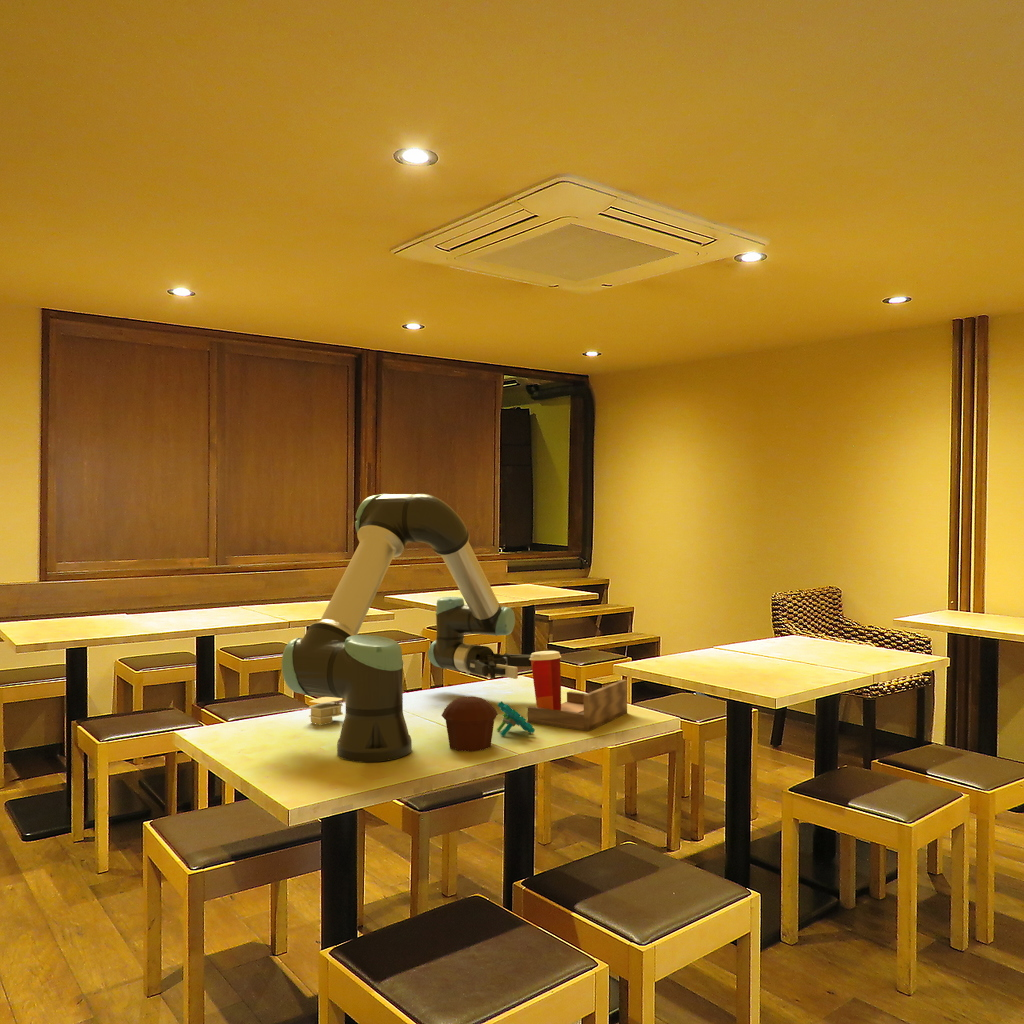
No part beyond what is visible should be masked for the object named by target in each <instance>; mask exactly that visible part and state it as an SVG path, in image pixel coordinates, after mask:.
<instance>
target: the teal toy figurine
mask: <svg viewBox="0 0 1024 1024" xmlns="http://www.w3.org/2000/svg"><path fill="white" fill-rule="evenodd" d="M497 706H498V708H499V709H500V710H501V712H502V713H503V714H502V719H501V720H502V723H500V725H499V726H498V727H497V729H496V731H498V732H500V731H501V730H502V729H503V727H504V729H503V730H502V731H501V732H500V733H499V735H501V736H502V737H505V736H506V734H507V733H509V731H510V729H511V728H512V727H515V726H518V727H519V726H520V728H521V729H522V731H523V730H524V731H525V732H528V733H529V734H534V733H535V731H536V729H535V728H533V725H532V723H529V722H528V721H527V719H526V717H524V716H522V715H521V713H519V711H517V710H516V709H514V708H511V706H510V705H509V704H507V703H504V702H503V701H500V702H498V703H497Z"/></svg>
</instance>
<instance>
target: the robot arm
mask: <svg viewBox="0 0 1024 1024" xmlns="http://www.w3.org/2000/svg"><path fill="white" fill-rule="evenodd" d="M355 519H356V521H354V526H355V531H356V533H357V534H356V535H357V536H356V537H357V540H358V542H359V543H358V546H357V547H356V549H355V551H354V553H353V556H352V557H351V558H350V559H351V560H350V561H349V563H348V565H347V567H346V569H345V571H344V573H343V575H342V577H341V579H340V581H339V582H338V584H337V586H336V588H335V590H334V593H333V595H332V597H331V599H330V601H329V602H328V604H327V606H326V609H325V610H324V612H323V614H322V616H321V619H320V620H319V621H316V622H312V623H311V624H310V625H309V626H308V628H307V630H306V631H305V634H304V636H303V637H296V638H294V639H291V640H290V641H288V643H287V644H286V645H285V647H284V650H283V652H282V656H281V657H282V658H281V670H282V671H281V672H282V673H281V674H282V677H283V681H284V683H285V684H286V686H287V687H288V688H289V689H290V690H291V691H292V692H294V693H296V694H303V695H306V696H310V697H312V696H314V697H315V696H317V697H336V698H342V699H344V700H345V716H344V719H343V723H342V727H341V730H340V733H339V734H340V735H339V738H338V740H337V744H336V750H337V751H336V752H337V753H336V754H337V756H338V757H339V758H341V759H343V760H346V761H349V762H350V761H351V762H358V763H359V762H362V763H373V762H375V763H378V762H386V761H391V760H396V759H400V758H402V757H406V756H407V755H409V754H411V752H412V751H413V750H412V749H413V748H412V747H413V745H412V743H413V742H412V738H411V735H410V734H409V731H408V729H409V728H408V726H407V723H406V719H405V715H404V704H403V703H404V702H403V700H404V697H403V693H404V692H403V691H404V689H403V685H404V684H403V682H404V679H403V677H404V675H403V673H404V671H403V670H404V669H403V667H404V660H403V651H402V650H403V649H402V647H401V645H400V644H399V642H397V640H395V639H393V638H390V637H387V636H380V635H374V634H371V635H367V634H359V631H360V629H361V627H362V625H363V623H364V620H365V618H366V616H367V614H368V613H369V609H370V608H371V606H372V603H373V602H374V600H375V597H376V594H377V592H379V591H378V590H379V588H380V587H381V584H382V582H383V580H384V578H385V576H386V573H387V571H388V569H389V567H390V565H391V562H392V561H393V559H394V558H398V557H400V556H401V555H402V554H403V552H404V550H405V548H406V546H407V544H409V543H413V544H414V543H415V544H416V543H417V544H418V543H424V544H426V545H428V546H430V547H431V549H432V551H433V552H434V553H435V554H437V555H438V556H441V558H442V560H443V562H444V564H445V566H446V568H447V569H448V571H449V573H450V575H451V577H452V578H453V579H452V580H453V581H454V582H455V584H456V586H457V588H458V590H459V591H460V593H461V595H462V597H459V596H444V597H440V598H438V599H437V601H436V610H435V612H436V613H435V617H436V619H435V623H436V637H435V638H436V639H435V640H433V642H432V643H430V645H429V649H427V656H428V657H427V658H428V660H429V662H430V664H432V665H433V666H434V667H437V668H441V669H443V670H451V671H458V672H462V673H463V672H465V675H470V674H474V675H478V676H484V677H487V676H489V678H490V679H496V676H498V677H502V678H503V677H504V678H509V679H515V680H517V679H519V671H518V670H519V669H518V668H519V667H532V665H531V660H529V659H530V658H531V654H513V653H507V652H506V653H503V654H501V653H495V652H494V651H493V650H492V648H490V647H489V646H486V645H479V644H475V643H474V644H473V643H465V642H464V641H465V634H471V635H485V636H487V635H488V636H495V637H497V636H508V635H510V634H512V632H513V631H514V628H515V625H516V617H515V612H514V610H513V608H511V607H509V606H508V607H506V606H504V605H503V606H501V604H500V603H499V601H498V599H497V596H496V595H495V592H494V591H493V589H492V586H491V584H490V582H489V580H488V579H487V576H486V574H485V572H484V570H483V568H482V566H481V564H480V562H479V560H478V558H477V556H476V554H475V552H474V550H473V548H472V545H471V544H470V542H469V540H470V532H469V530H468V528H467V526H466V524H465V522H464V521H463V519H462V518H461V516H460V515H459V514H458V513H457V512H456V511H455V510H454V509H453V508H452V507H451V506H450V505H449V504H447V503H446V502H445V501H443V500H442V499H440V498H438V497H436V496H434V495H432V494H428V493H416V494H415V493H411V494H410V493H397V494H396V493H393V494H392V493H391V494H390V493H381V494H375V495H371V496H367V497H366V498H365V499H364V500H363V501H362V502H361V503H360V505H359V506H358V508H357V511H356V513H355Z"/></svg>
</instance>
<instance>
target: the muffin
mask: <svg viewBox="0 0 1024 1024" xmlns="http://www.w3.org/2000/svg"><path fill="white" fill-rule="evenodd" d="M498 714H499V713H498V712H497V711H496V707H494V705H492V703H490V702H489V701H487V700H486V699H485V698H482V697H478V696H472V695H471V696H462V697H458V698H456V699H455V700H453V701H451V702H449V704H448V705H446V707H444V710H443V712H442V713H441V717H442V718H443V719H444V720H445V725H446V731H447V738H448V743H449V744H448V745H449V749H452V750H455V751H458V752H468V753H470V752H471V753H472V752H478V751H485V750H487V749H489V748H491V747H492V741H493V740H492V739H493V734H494V733H493V732H494V726H495V725H494V723H495V720H496V718H497V716H498Z"/></svg>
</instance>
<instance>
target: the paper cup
mask: <svg viewBox="0 0 1024 1024" xmlns="http://www.w3.org/2000/svg"><path fill="white" fill-rule="evenodd" d="M530 655H531V658H530V659H529V660H531V665H532V666H531V670H532V671H531V673H532V679H533V680H532V681H533V686H534V694H535V695H534V696H535V702H536V703H535V704H536V707H539V708H547V709H554V710H561V704H562V675H561V674H562V673H561V659H562V655H561V653H560V651H557V650H542V651H535V652H532V653H531V654H530Z"/></svg>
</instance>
